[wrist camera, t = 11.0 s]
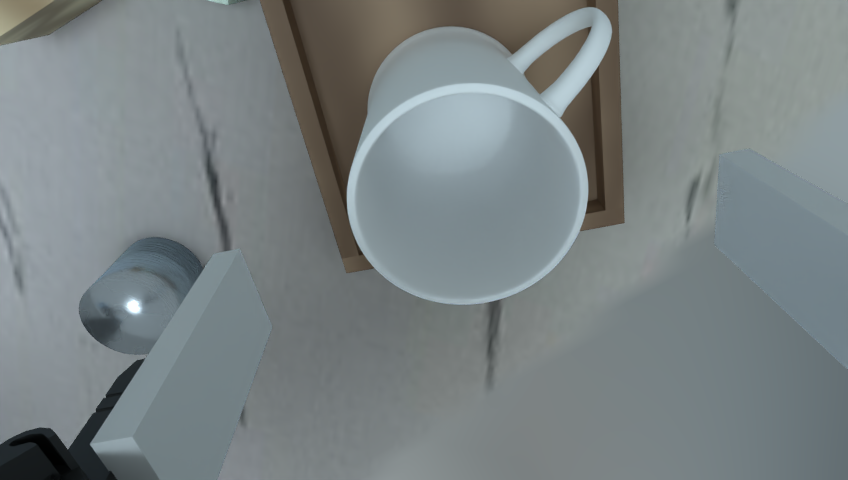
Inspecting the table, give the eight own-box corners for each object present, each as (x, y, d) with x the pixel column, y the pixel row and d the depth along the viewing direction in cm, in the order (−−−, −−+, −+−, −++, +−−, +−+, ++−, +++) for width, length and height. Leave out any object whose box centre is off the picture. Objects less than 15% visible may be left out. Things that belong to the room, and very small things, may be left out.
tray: (351, 252, 34) (346, 273, 31) (265, -29, 26) (251, -28, 24) (610, 204, 32) (624, 223, 30) (597, -107, 25) (614, -112, 23)
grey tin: (144, 310, 35) (105, 360, 31) (108, 245, 33) (61, 290, 29) (216, 297, 35) (187, 346, 31) (185, 230, 33) (149, 273, 28)
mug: (515, -66, 25) (589, -80, 14) (614, 78, 28) (735, 156, 17) (334, 104, 28) (283, 195, 18) (439, 215, 31) (450, 349, 21)
